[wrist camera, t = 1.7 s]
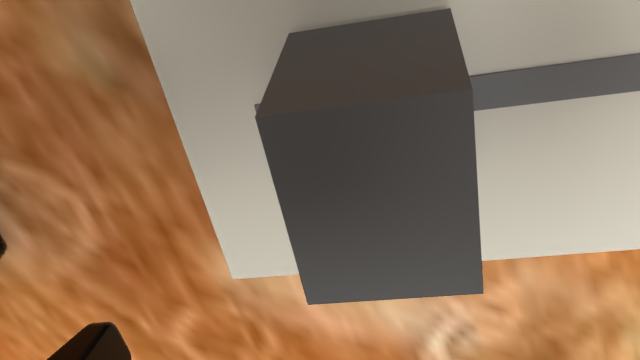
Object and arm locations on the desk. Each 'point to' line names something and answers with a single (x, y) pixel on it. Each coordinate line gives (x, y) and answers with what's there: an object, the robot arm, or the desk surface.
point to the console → (489, 115)
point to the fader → (376, 159)
